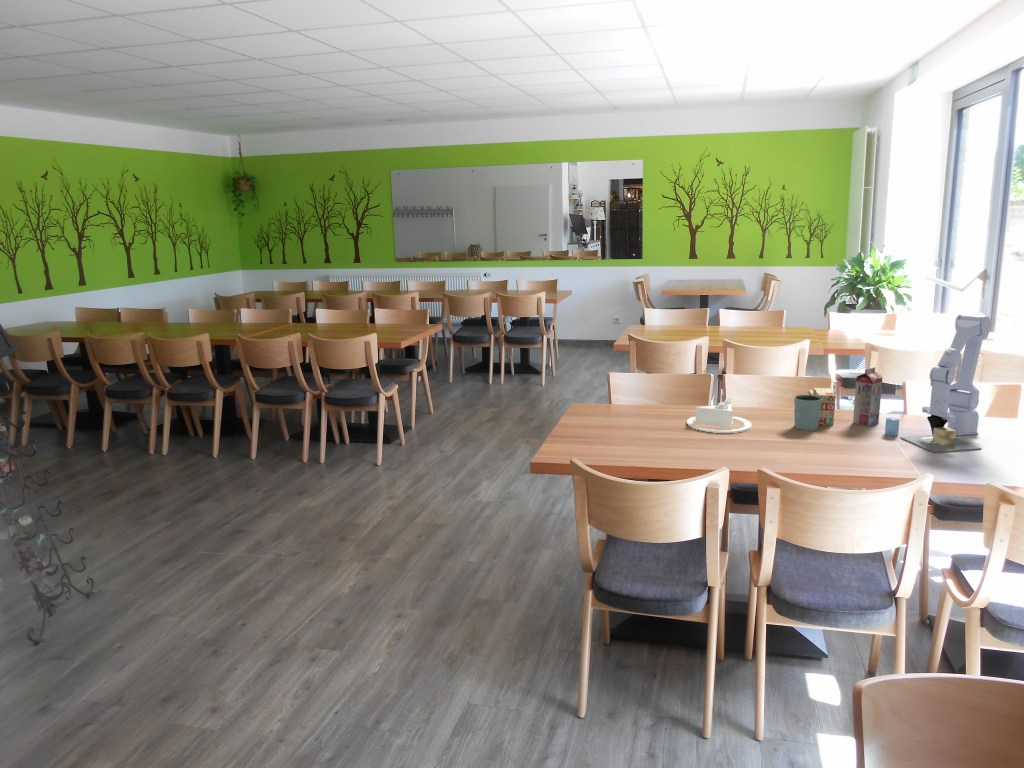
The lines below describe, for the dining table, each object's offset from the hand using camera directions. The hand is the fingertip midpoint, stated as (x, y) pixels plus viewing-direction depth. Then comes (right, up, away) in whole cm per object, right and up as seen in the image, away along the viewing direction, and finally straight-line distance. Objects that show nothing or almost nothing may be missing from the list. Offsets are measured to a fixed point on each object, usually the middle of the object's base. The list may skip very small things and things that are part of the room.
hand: (935, 436), depth 273 cm
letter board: (0, -2, -3) cm, 4 cm away
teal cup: (-39, +2, +21) cm, 44 cm away
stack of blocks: (-28, +5, +34) cm, 44 cm away
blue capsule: (-11, 0, +9) cm, 15 cm away
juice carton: (-14, +3, +25) cm, 29 cm away
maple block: (+1, -2, -4) cm, 4 cm away
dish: (-71, +2, +27) cm, 76 cm away
